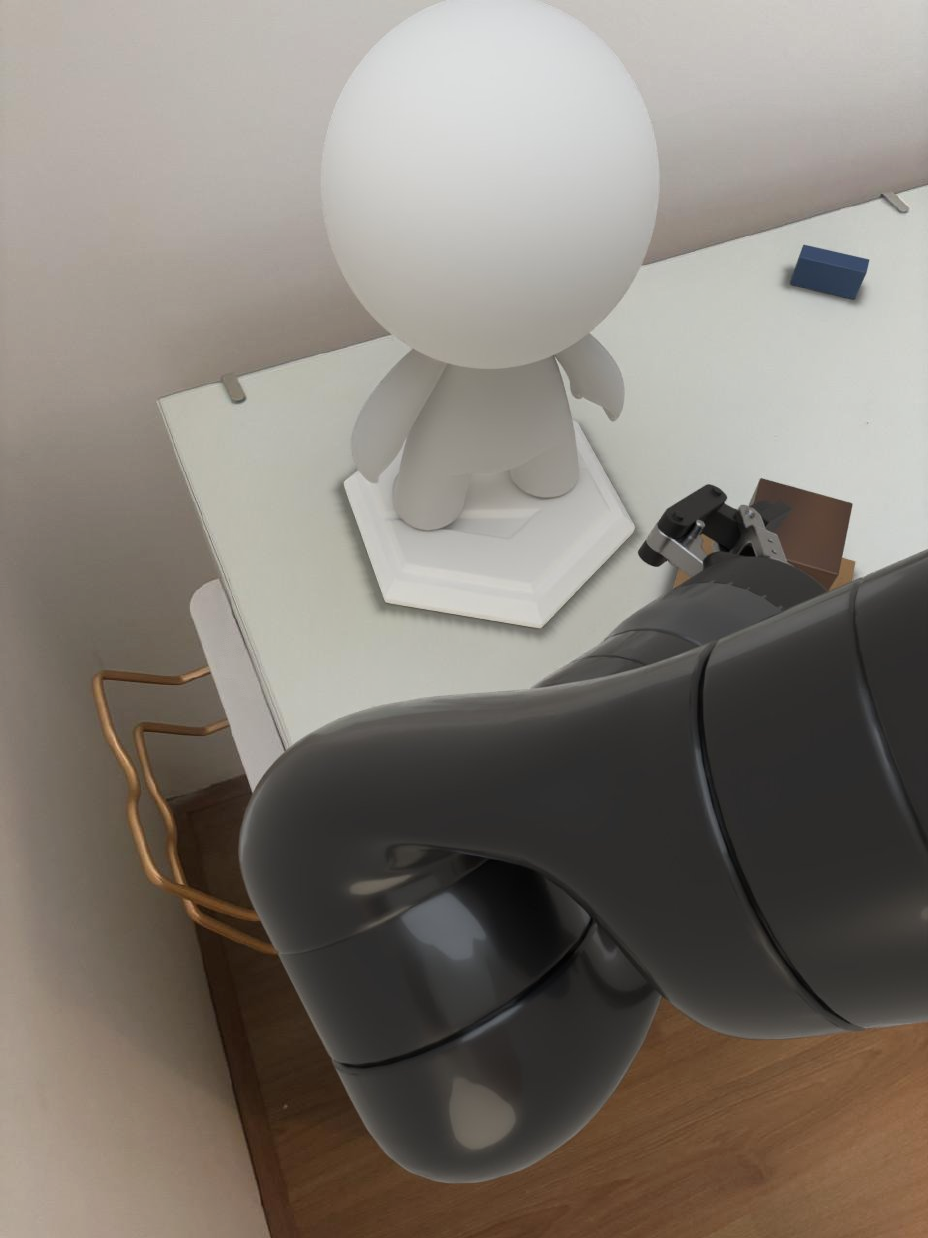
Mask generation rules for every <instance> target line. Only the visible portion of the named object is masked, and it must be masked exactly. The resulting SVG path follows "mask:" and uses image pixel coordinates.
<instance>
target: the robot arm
mask: <svg viewBox="0 0 928 1238" xmlns="http://www.w3.org/2000/svg"><path fill="white" fill-rule="evenodd" d="M727 500H728V496H727V494H726V492H724V491H723V490H722V489H721V488H720V487H718V486H717V485H714V484H711V483H707V484H705V485H703V486H701V487H700V488H699V489H697V490H695V491H693V492H691V493H690V494H688V495H687V496H685V497H683V498H682V499H680V500H679V501H677V502H675V503H674V504H672V505H671V506H669V507H667V508H666V509H665V511H664V512H663V514H662V515H661V517H660V518H659V519H658V521H657V522H656V524H655V525H654V527H653V528H652V530H651V531H650V532H649V534H648V535H647V536H646V538H645V540H644V541H643V542H642V544H641V546H640V547H639V549H638V550H637V555H638V557H639V558H640V560H641V561H642V562H644V563H645V564H647V565H648V566H651V567H654V568H660V567H661V566H662V565H664V564H665V563H666V562H668V564H669V565H671V566H674V567H675V566H676V567H677V568H678V569H679V568H680V569H681V570H682V571H683V572H685V573H686V574H687V575H689V576H690V577H691V578H690V579H688V580H687V581H685V582H683V583H682V584H680V585H678V586H677V587H675V588H674V589H673V588H672V589H671V590H669V591H667V592H665V593H664V594H662V595H661V596H659V597H658V598H656V599H654V600H652V601H651V602H649V603H648V604H646V605H645V606H642V607H641V608H640V609H638V610H636V611H635V612H634V613H632V614H631V615H630V616H628V617H627V618H626V619H624V620H623V621H621V622H620V623H619V624H618V625H617V626H616V627H615V628H614V629H613V630H612V631H611V632H610V633H609V634H608V635H607V636H606V637H604V639H603V640H602V641H601V642H600V643H598V644H597V645H595V646H594V647H592V648H590V649H589V650H588V651H586V652H584V653H583V654H581V655H580V656H578V657H576V658H575V659H573V660H572V661H570V662H568V663H567V664H565V665H563V666H562V667H560V668H558V669H556V670H555V671H553V672H551V673H550V674H548V675H546V676H545V677H544V678H542V679H541V680H540V681H538V682H537V683H536V684H534V685H532V686H531V687H530V688H525V689H524V688H523V689H514V690H501V691H485V692H484V691H483V692H473V693H471V692H470V693H459V694H448V695H447V694H446V695H435V696H425V697H419V698H414V699H409V700H403V701H397V702H391V703H385V704H381V705H377V706H373V707H369V708H365V709H361V710H359V711H356V712H352V713H350V714H347V715H344V716H342V717H339V718H337V719H335V720H333V721H330V722H328V723H326V724H324V725H322V726H321V727H319V728H317V729H315V730H313V731H311V732H309V733H307V734H306V735H305V736H303V737H302V738H300V739H298V740H297V741H295V742H294V743H293V744H292V745H290V746H289V747H288V748H287V749H286V750H285V751H284V752H282V753H281V754H280V755H279V756H278V757H277V758H276V759H275V760H274V761H273V763H272V764H271V765H270V766H269V767H268V769H267V770H266V771H265V772H264V774H263V775H262V776H261V778H260V779H259V781H258V783H257V784H256V786H255V788H254V790H253V792H252V794H251V797H250V799H249V800H248V803H247V805H246V807H245V810H244V813H243V816H242V821H241V825H240V828H239V835H238V847H237V855H238V856H237V857H238V864H239V870H240V875H241V878H242V881H243V884H244V887H245V891H246V895H247V896H248V898H249V900H250V903H251V906H252V908H253V910H254V911H255V913H256V916H257V917H258V920H259V922H260V924H261V925H262V927H263V930H264V931H265V934H266V935H267V937H268V939H269V942H270V943H271V945H272V947H273V949H274V950H275V951H276V954H277V956H278V959H279V960H280V962H281V964H282V966H283V968H284V970H285V972H286V974H287V976H288V978H289V981H290V982H291V984H292V986H293V988H294V989H295V992H296V994H297V996H298V998H299V1000H300V1002H301V1004H302V1006H303V1008H304V1010H305V1012H306V1014H307V1016H308V1017H309V1020H310V1022H311V1024H312V1026H313V1028H314V1029H315V1031H316V1033H317V1036H318V1038H319V1040H320V1041H321V1044H322V1045H323V1047H324V1050H325V1051H326V1053H327V1055H328V1057H330V1060H331V1063H332V1065H333V1068H334V1070H335V1071H336V1073H337V1075H338V1077H339V1080H340V1081H341V1083H342V1086H343V1087H344V1089H345V1092H346V1094H347V1096H348V1097H349V1099H350V1101H351V1103H352V1105H353V1107H354V1109H355V1111H356V1113H357V1115H358V1116H359V1118H360V1120H361V1122H362V1124H363V1126H364V1127H365V1129H366V1130H367V1132H368V1133H369V1134H370V1136H372V1139H373V1140H374V1141H375V1142H376V1144H377V1145H378V1147H379V1148H380V1149H381V1150H382V1151H383V1152H384V1154H386V1156H388V1158H390V1159H391V1160H393V1161H394V1163H396V1164H397V1165H399V1166H400V1167H401V1168H403V1169H404V1170H405V1171H407V1172H409V1173H411V1174H413V1175H416V1176H418V1177H422V1178H425V1179H427V1180H431V1181H432V1182H438V1183H445V1184H477V1183H482V1182H483V1183H484V1182H488V1181H492V1180H495V1179H499V1178H501V1177H502V1178H503V1177H505V1176H508V1175H511V1174H514V1173H517V1172H520V1171H523V1170H525V1169H526V1168H529V1167H531V1166H532V1165H534V1164H536V1163H538V1162H539V1161H541V1160H542V1159H544V1158H546V1157H547V1156H549V1155H550V1154H552V1153H553V1152H554V1151H556V1150H558V1149H559V1148H561V1147H563V1146H564V1145H565V1144H567V1142H569V1141H570V1140H571V1139H573V1138H574V1137H575V1136H576V1135H577V1134H578V1133H579V1132H581V1130H583V1129H584V1127H586V1126H587V1124H589V1122H590V1121H592V1119H593V1118H594V1117H595V1116H596V1115H597V1114H598V1113H599V1112H600V1110H602V1109H603V1107H604V1106H605V1105H606V1104H607V1102H608V1101H609V1100H610V1099H611V1097H612V1096H613V1095H614V1094H615V1093H616V1091H617V1089H619V1087H620V1085H621V1084H622V1082H623V1081H624V1080H625V1078H626V1076H627V1075H628V1073H629V1071H630V1069H631V1068H632V1066H633V1064H634V1062H635V1061H636V1059H637V1057H638V1055H639V1053H640V1052H641V1050H642V1048H643V1046H644V1044H645V1042H646V1040H647V1038H648V1037H649V1034H650V1032H651V1029H652V1027H653V1024H654V1022H655V1019H656V1016H657V1014H658V1010H659V1008H660V1006H661V1003H662V1000H663V999H664V1000H666V1001H667V1002H668V1003H669V1004H670V1005H672V1006H673V1007H674V1008H675V1009H676V1010H678V1011H679V1012H680V1013H681V1014H683V1015H684V1016H685V1017H686V1018H688V1019H689V1020H691V1021H693V1022H694V1023H696V1024H697V1025H699V1026H701V1027H702V1028H705V1029H706V1030H709V1031H711V1032H714V1033H717V1034H719V1035H722V1036H726V1037H730V1038H734V1039H740V1040H747V1041H790V1040H801V1039H809V1038H820V1037H827V1036H834V1035H835V1036H836V1035H843V1034H851V1033H858V1032H865V1031H867V1030H875V1029H883V1028H890V1027H898V1026H904V1025H911V1024H912V1025H913V1024H919V1023H927V1022H928V548H927V549H924V550H922V551H920V552H917V553H915V554H913V555H910V556H908V557H905V558H903V559H901V560H898V561H896V562H894V563H892V564H889V565H887V566H885V567H882V568H879V569H877V570H875V571H872V572H870V573H868V574H866V575H865V576H863V577H861V576H860V577H858V578H856V579H854V580H853V579H852V581H851V582H849V583H846V584H844V585H842V586H839V587H837V588H835V589H832V590H830V591H827V590H826V589H825V588H824V587H823V586H822V585H821V584H820V583H819V582H817V581H816V580H815V579H814V578H812V577H811V576H810V575H808V574H806V573H805V572H803V571H802V570H800V569H798V568H796V567H794V566H793V565H791V564H789V563H788V562H787V559H786V557H785V554H784V551H783V549H782V546H781V543H780V540H779V538H778V535H777V534H775V533H774V532H775V531H776V530H777V529H778V527H779V526H780V525H781V524H782V522H783V521H784V520H785V519H786V517H787V516H788V515H789V513H790V512H791V511H792V509H793V508H792V507H790V506H789V505H788V504H786V503H785V502H784V501H782V500H780V501H779V502H777V503H775V504H771V503H770V502H769V501H766V500H760V501H758V502H757V503H755V504H753V505H751V506H749V505H747V504H740V505H739V507H738V508H734V507H732V506H731V505H728V504H727V503H726V502H727ZM701 534H704V535H705V536H707V537H709V538H710V539H712V540H714V542H713V543H712V549H713V553H711V554H709V555H708V554H706V552H705V551H704V550H703V548H702V543H703V539H702V537H701Z"/></svg>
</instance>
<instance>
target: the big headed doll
mask: <svg viewBox="0 0 928 1238" xmlns="http://www.w3.org/2000/svg"><path fill="white" fill-rule="evenodd" d="M344 84H345V85H344V86H343V88H342V90H341V92H340V94H339V95H338V98H337V100H336V103H335V105H334V107H333V111H332V112H331V113H332V114H331V116H330V119H329V122H328V124H327V125H328V126H327V129H326V134H325V138H324V143H323V149H322V154H321V164H320V198H321V208H322V215H323V221H324V226H325V229H326V234H327V238H328V241H329V244H330V248H331V250H332V253H333V256H334V259H335V261H336V263H337V265H338V268H339V270H340V273H341V274H342V275H343V278H344V280H345V282H346V283H347V284H348V286H349V288H350V289H351V292H352V293H353V294H354V296H355V297H356V299H357V300H358V301H359V303H360V304H361V305H362V307H363V308H364V309H365V310H366V311H367V313H368V314H369V315H370V316H371V317H372V318H373V319H374V320H375V321H376V322H377V323H378V325H380V326H381V327H382V328H383V329H384V330H385V331H387V332H388V333H389V334H391V336H392V337H394V338H395V339H397V340H398V341H400V342H401V343H403V344H404V345H406V346H407V347H409V348H411V349H410V350H409V351H408V352H407V353H406V354H404V355H403V356H402V358H400V359H399V361H398V362H396V364H395V365H394V366H393V367H392V368H390V370H389V371H388V373H386V375H385V376H384V377H383V378H382V380H381V381H380V382H379V383H378V385H376V387H375V389H374V390H373V391H372V393H370V395H369V396H368V398H367V400H366V401H365V403H363V404H364V405H363V406H362V408H361V409H360V411H359V413H358V414H357V417H356V419H355V422H354V425H353V427H352V432H351V437H350V453H351V457H352V461H353V463H354V465H355V467H356V469H357V470H356V471H354V473H352V474H351V475H350V476H348V477H347V478H346V479H345V480H344V481H343V487H344V491H345V493H346V496H347V499H348V501H349V504H350V507H351V510H352V513H353V515H354V518H355V522H356V524H357V527H358V530H359V533H360V535H361V538H362V541H363V544H364V548H365V550H366V552H367V555H368V558H369V561H370V563H371V566H372V570H373V572H374V575H375V577H376V581H377V583H378V585H379V589H380V592H381V595H382V598H383V600H384V602H385V603H387V604H391V605H397V606H403V607H404V606H405V607H410V608H415V609H420V610H421V609H422V610H428V611H434V612H440V613H444V614H445V613H446V614H452V615H457V616H463V617H469V618H476V619H480V620H487V621H493V622H499V623H506V624H510V625H511V624H512V625H517V626H523V627H529V628H534V629H542V628H543V627H545V625H546V624H547V623H548V622H549V621H550V620H551V619H552V618H553V617H554V616H555V615H556V614H557V613H558V611H560V609H561V608H563V606H565V604H566V603H567V602H568V601H569V600H571V598H572V597H573V596H574V595H575V594H576V593H577V592H578V591H579V590H580V589H581V587H583V586H584V584H585V583H586V582H587V581H589V579H590V578H591V577H592V576H593V575H594V574H595V573H596V572H597V571H598V570H599V569H600V568H601V567H602V566H603V565H604V564H605V563H606V562H607V561H608V560H609V559H610V558H611V556H613V554H615V552H616V551H617V550H618V549H619V548H620V547H621V546H622V545H624V544H625V542H626V541H627V540H628V539H629V538H630V537H631V536H632V535H633V533H634V532H635V529H636V526H635V524H634V521H633V520H632V518H631V517H630V515H629V512H628V511H627V509H626V507H625V506H624V504H623V502H622V500H621V497H620V496H619V495H618V493H617V491H616V489H615V487H614V486H613V484H612V482H611V480H610V479H609V477H608V475H607V473H606V471H605V469H604V467H603V466H602V464H601V462H600V460H599V458H598V456H597V455H596V453H595V451H594V449H593V448H592V446H591V444H590V442H589V440H588V439H587V437H586V435H585V433H584V432H583V430H582V427H581V426H580V423H578V421H576V420H575V419H573V417H572V416H573V415H572V411H571V407H570V403H569V399H568V395H567V391H566V387H565V383H564V380H563V376H562V373H561V370H560V368H559V367H560V366H561V367H562V369H563V371H564V372H565V374H566V376H567V378H568V380H569V389H570V392H571V395H572V397H573V398H575V399H577V400H581V399H582V398H583V399H585V400H587V401H589V402H591V403H593V404H595V405H597V406H600V407H601V409H602V410H603V412H604V413H605V415H606V416H607V418H608V419H609V421H611V422H612V423H614V422H616V421H617V420H618V419H619V417H620V416H621V414H622V412H623V409H624V405H625V399H626V398H625V397H626V396H625V395H626V391H625V381H624V377H623V373H622V371H621V369H620V367H619V365H618V364H617V362H616V360H615V359H614V357H613V356H612V354H611V353H610V352H609V350H608V349H606V347H605V346H604V345H603V344H602V343H601V342H600V341H599V340H598V339H597V338H596V337H595V336H594V335H593V334H592V333H591V332H593V331H594V330H595V329H596V328H597V327H598V326H599V325H601V323H602V322H603V321H604V320H605V319H606V318H607V317H608V316H609V315H610V314H611V313H612V312H613V311H614V309H615V308H616V307H617V306H618V305H619V303H620V302H621V300H622V299H623V298H624V297H625V295H626V294H627V292H628V290H629V289H630V288H631V286H632V284H633V282H634V281H635V279H636V277H637V275H638V273H639V271H640V270H641V267H642V265H643V263H644V261H645V258H646V255H647V253H648V250H649V247H650V244H651V240H652V238H653V233H654V230H655V225H656V220H657V214H658V208H659V200H660V182H661V181H660V161H659V151H658V146H657V141H656V135H655V131H654V127H653V124H652V121H651V120H652V119H651V117H650V115H649V111H648V108H647V106H646V103H645V101H644V98H643V96H642V94H641V92H640V90H639V88H638V86H637V84H636V83H635V80H634V79H633V77H632V75H631V74H630V72H629V71H628V69H627V68H626V66H625V65H624V63H623V62H622V61H621V59H620V58H619V57H618V56H617V54H616V53H615V52H614V51H613V50H612V48H611V47H610V46H609V45H608V44H607V43H606V41H604V40H603V39H602V38H601V37H600V36H599V35H598V34H597V33H595V32H594V30H593V29H591V28H590V27H588V26H587V25H586V24H585V23H583V22H581V21H580V20H579V19H577V18H576V17H574V16H572V15H571V14H569V13H567V12H565V10H564V11H563V10H562V9H560V8H558V7H555V6H553V5H551V4H548V3H546V2H543V1H541V0H443V1H440V2H437V3H434V4H432V5H430V6H428V7H425V8H424V9H422V10H420V11H418V12H416V13H414V14H412V15H411V16H409V17H408V18H406V19H404V20H403V21H401V22H400V23H398V24H397V25H396V26H395V27H393V28H392V29H391V30H389V31H388V32H387V33H386V34H384V36H382V37H381V38H380V39H379V40H378V41H377V42H376V43H375V44H374V46H372V47H371V48H370V49H369V51H368V52H367V53H366V54H365V55H364V57H363V58H361V60H360V61H359V63H358V64H357V66H356V67H355V68H354V70H353V71H352V73H351V74H350V76H349V77H348V79H347V81H346V83H344ZM557 361H558V362H557ZM558 363H559V364H560V366H559V364H558Z"/></svg>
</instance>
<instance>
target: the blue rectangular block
mask: <svg viewBox="0 0 928 1238" xmlns="http://www.w3.org/2000/svg"><path fill="white" fill-rule="evenodd" d="M798 255H799V256H798V258H797V260H796V264H795V266H794V269H793V271H792V275H791V277H790V282H789V285H791V286H796V287H799V288H804V289H808V290H813V291H817V292H821V293H824V294H825V293H826V294H829V295H833V296H838V297H842V298H846V299H850V300H856V298H857V296H858V293H859V290H860V289H861V287H862V284H863V283H864V279H865V278H866V275H867V273H868V269H869V264H870V259H869V258H865V257H860V256H856V255H852V254H848V253H843V252H838V251H834V250H830V249H825V248H821V247H817V246H816V247H815V246H814V245H813V246H812V245H807V244H802V247H801V249H800V252H799V254H798Z"/></svg>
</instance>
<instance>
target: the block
mask: <svg viewBox="0 0 928 1238" xmlns="http://www.w3.org/2000/svg"><path fill="white" fill-rule="evenodd" d="M760 500H766V501H769V502H770V503H771V504H775V503H777V502H779V501H780V500H782V501H784V502H785V503H786V504H788V505H789V506H790V507H792V508H793V509H792V511H791V512H790V513H789V515H788V516H787V517H786V519H785V520H784V521H783V522H782V524H781V525H780V526H779V527H778V529H777V530H776V531H775V532H774V533H775V534H777V535H778V538H779V540H780V543H781V546H782V549H783V551H784V554H785V557H786V559H787V562H788V563H789V564H791V565H793V566H794V567H796V568H798V569H800V570H802V571H803V572H805V573H806V574H808V575H810V576H811V577H812V578H814V579H815V580H816V581H817V582H819V583H820V584H821V585H822V586H823V587H824V588H825V589H826V590H827V591H830V590H832V589H835V588H837V587H839V586H842V585H844V584H846V583H849V582H851V581H853V578H854V571H855V566H856V561H855V560H853V559H848V558H845V557H843V556H844V551H845V545H846V540H847V536H848V530H849V525H850V521H851V515H852V511H853V505H854V504H853V502H850V501H846V500H843V499H839V498H835V497H833V496H828V495H825V494H821V493H817V492H814V491H810V490H806V489H803V488H799V487H795V486H792V485H789V484H784V483H780V482H778V481H773V480H769V479H766V478H763V477H761V478H759V479H758V482H757V485H756V487H755V489H754V492H753V494H752V496H751V499H750V500H749V502H748V503H749V504H748V506H751V505H753V504H755V503H757V502H758V501H760ZM701 537H702V539H703V543H702V548H703V550H704V551H705V552H706V554H708V555H709V554H711V553H713V549H712V543H713V542H714V540H712V539H710V538H709V537H707V536H705V535H704V534H701ZM690 578H691V577H690V576H689V575H687V574H686V573H685V572H683V571H682V570H681V569H680V568H678V570H677V573H676V576H675V579H674V582H673V586H672V589H674V588H675V587H677V586H678V585H680V584H682V583H683V582H685V581H687V580H688V579H690Z"/></svg>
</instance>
